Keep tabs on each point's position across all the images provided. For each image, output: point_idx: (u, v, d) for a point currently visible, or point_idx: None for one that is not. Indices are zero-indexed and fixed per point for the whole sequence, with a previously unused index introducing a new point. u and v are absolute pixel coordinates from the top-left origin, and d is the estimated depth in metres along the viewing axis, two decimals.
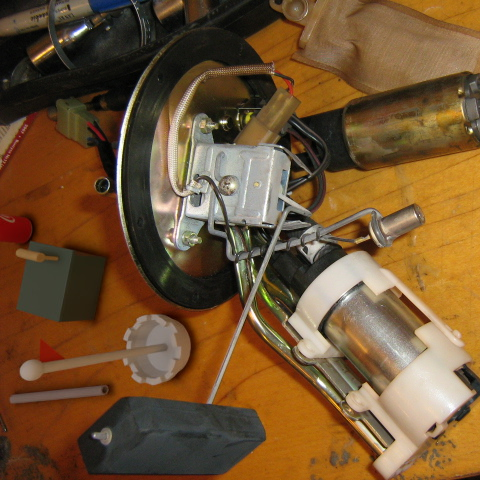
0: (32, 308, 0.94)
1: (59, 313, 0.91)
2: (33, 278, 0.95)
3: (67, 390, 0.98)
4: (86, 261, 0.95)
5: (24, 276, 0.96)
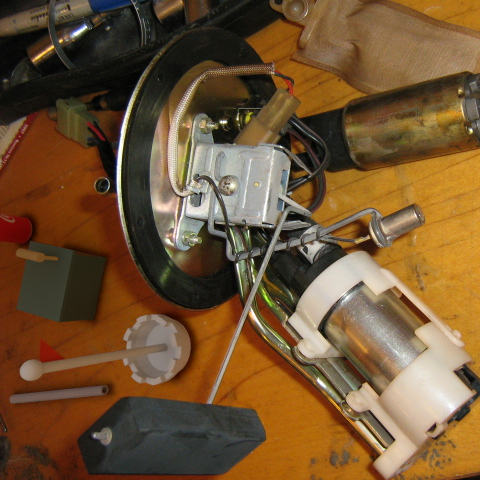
0: (32, 308, 0.94)
1: (59, 313, 0.91)
2: (33, 278, 0.95)
3: (67, 390, 0.98)
4: (86, 261, 0.95)
5: (24, 276, 0.96)
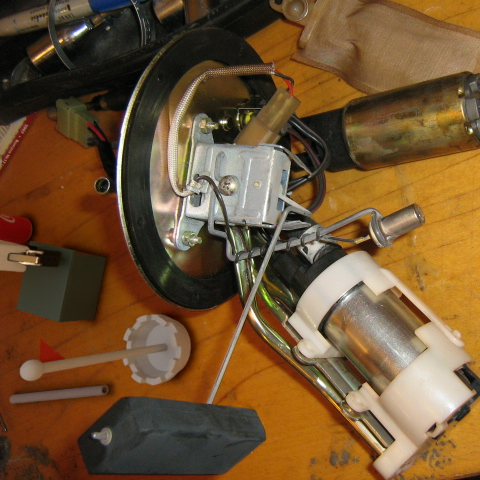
0: (32, 308, 0.94)
1: (59, 313, 0.91)
2: (33, 278, 0.95)
3: (67, 390, 0.98)
4: (86, 261, 0.95)
5: (24, 276, 0.96)
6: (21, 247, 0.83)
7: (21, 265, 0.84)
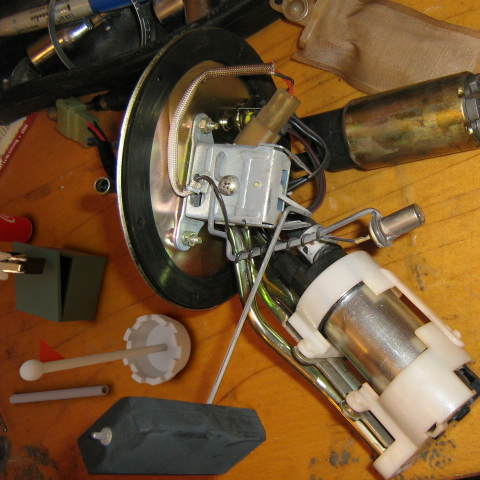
0: (31, 309, 0.94)
1: (57, 314, 0.91)
2: (25, 279, 0.93)
3: (67, 390, 0.98)
4: (86, 261, 0.95)
5: (15, 277, 0.94)
6: (3, 254, 0.80)
7: (3, 273, 0.81)
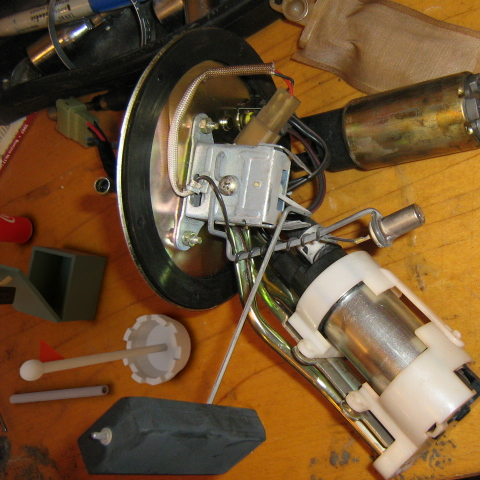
0: (28, 311, 0.93)
1: (53, 317, 0.90)
2: None
3: (67, 390, 0.98)
4: (86, 261, 0.95)
5: None
6: None
7: None
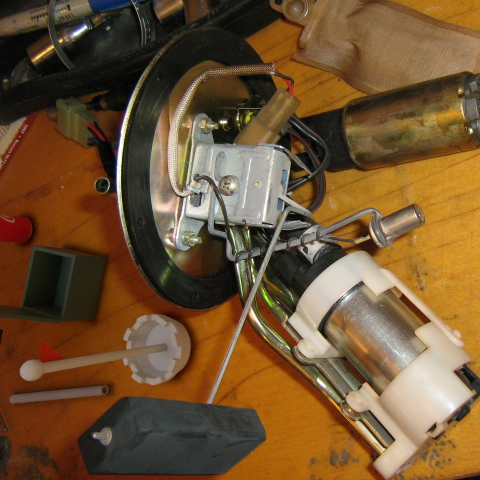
0: None
1: None
2: None
3: (67, 390, 0.98)
4: (86, 261, 0.95)
5: None
6: None
7: None
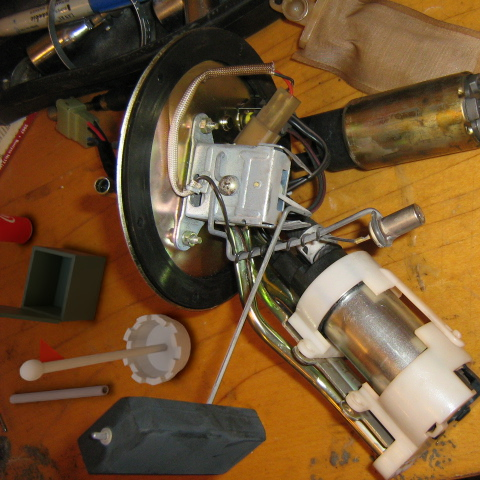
0: None
1: None
2: None
3: (67, 390, 0.98)
4: (86, 261, 0.95)
5: None
6: None
7: None
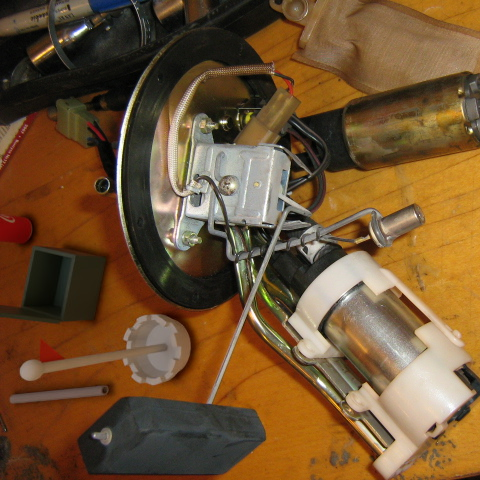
0: None
1: None
2: None
3: (67, 390, 0.98)
4: (86, 261, 0.95)
5: None
6: None
7: None
